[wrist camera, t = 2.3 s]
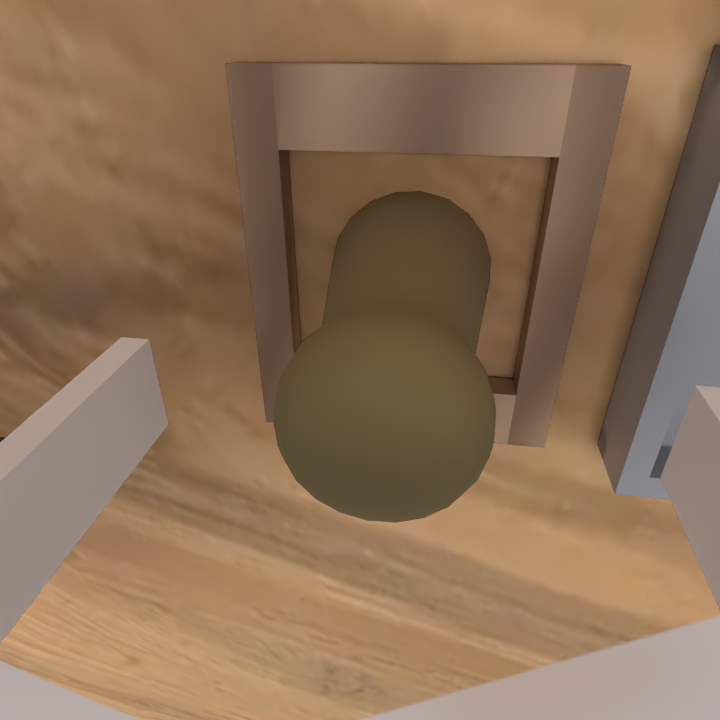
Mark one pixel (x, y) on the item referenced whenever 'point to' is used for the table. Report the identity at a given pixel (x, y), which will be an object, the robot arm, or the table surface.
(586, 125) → the socket block
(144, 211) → the table surface
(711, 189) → the tray
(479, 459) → the olive bulb peg
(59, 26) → the table surface
